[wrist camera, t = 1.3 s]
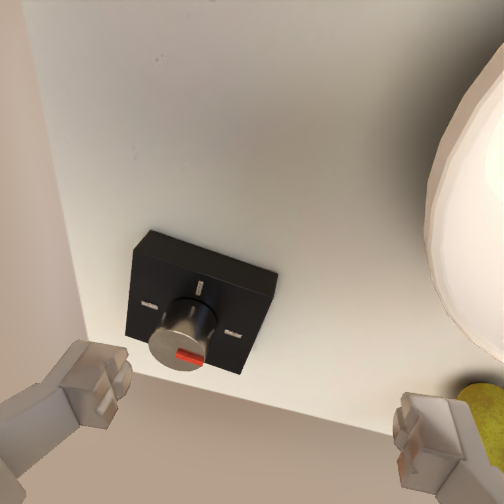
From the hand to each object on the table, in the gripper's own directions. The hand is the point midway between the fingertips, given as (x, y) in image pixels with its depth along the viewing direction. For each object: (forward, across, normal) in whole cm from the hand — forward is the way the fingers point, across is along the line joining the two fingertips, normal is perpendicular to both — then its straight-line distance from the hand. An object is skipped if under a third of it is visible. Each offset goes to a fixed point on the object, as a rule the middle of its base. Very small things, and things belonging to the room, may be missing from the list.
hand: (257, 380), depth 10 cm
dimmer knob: (+13, +7, +12) cm, 19 cm away
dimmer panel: (+16, +7, +12) cm, 22 cm away
